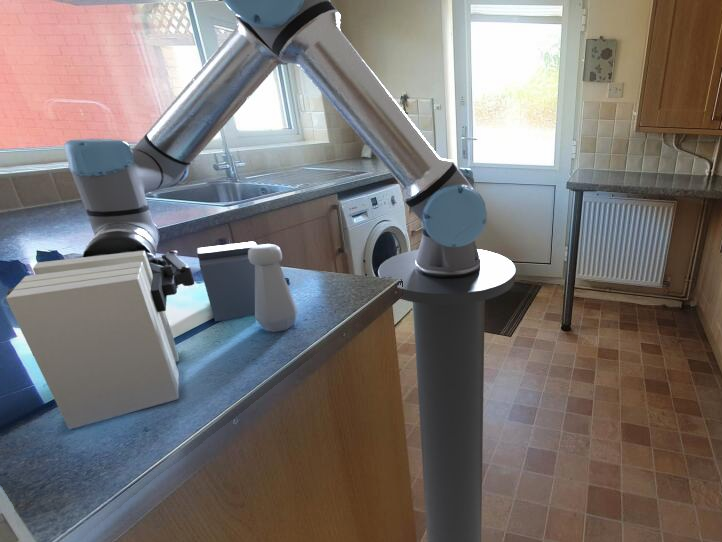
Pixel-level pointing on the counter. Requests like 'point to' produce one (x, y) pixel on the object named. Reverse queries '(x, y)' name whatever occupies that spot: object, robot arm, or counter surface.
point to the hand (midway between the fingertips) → (101, 310)
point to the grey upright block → (229, 279)
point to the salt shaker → (271, 289)
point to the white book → (106, 261)
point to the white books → (97, 340)
